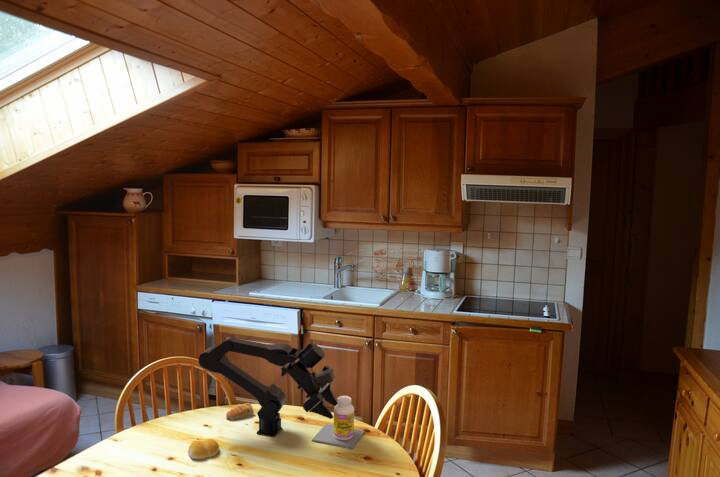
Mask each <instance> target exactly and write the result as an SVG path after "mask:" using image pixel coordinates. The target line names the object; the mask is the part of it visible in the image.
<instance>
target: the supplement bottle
mask: <svg viewBox="0 0 720 477" xmlns="http://www.w3.org/2000/svg"><path fill="white" fill-rule="evenodd" d="M336 400H337V403H338V404H337V405H336V406H334V408H333V425H334V437H335V438H336V439H338V440H349V439H351V438H352V437H353V435H354V429H355V428H354V427H355V407H354V405H353V404H352V397H350V396H348V395H340V396H338V397H337V398H336Z"/></svg>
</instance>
